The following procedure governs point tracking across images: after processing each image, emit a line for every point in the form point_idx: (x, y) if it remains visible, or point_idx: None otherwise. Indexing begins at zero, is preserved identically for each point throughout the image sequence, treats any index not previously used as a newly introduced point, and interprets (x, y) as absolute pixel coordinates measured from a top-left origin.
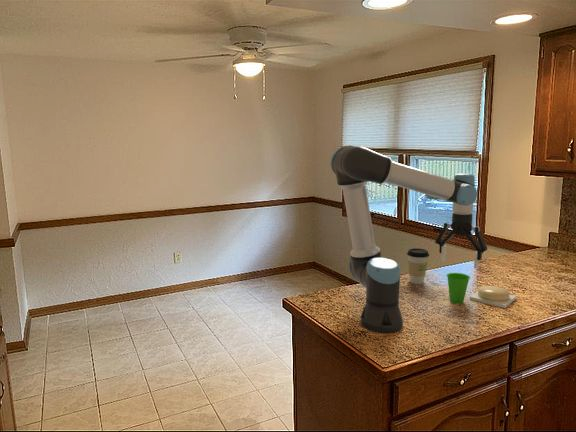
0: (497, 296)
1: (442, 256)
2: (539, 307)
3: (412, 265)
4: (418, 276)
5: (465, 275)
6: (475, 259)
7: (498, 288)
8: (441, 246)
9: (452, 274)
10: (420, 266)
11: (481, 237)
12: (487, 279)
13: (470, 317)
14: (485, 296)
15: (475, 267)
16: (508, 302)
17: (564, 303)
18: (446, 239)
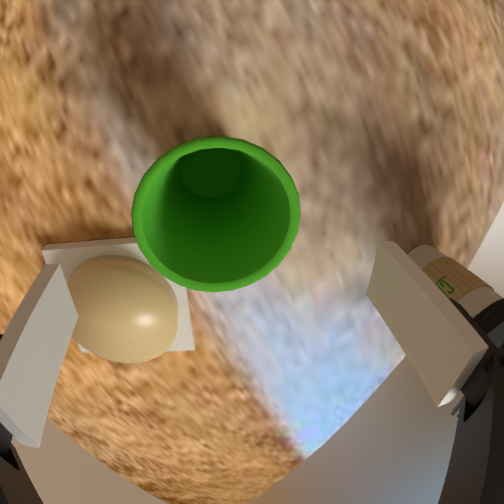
0: (72, 279)
1: (410, 271)
2: None
3: (474, 278)
4: (427, 264)
5: (193, 279)
6: (18, 324)
7: (121, 350)
8: (482, 354)
9: (274, 249)
10: (448, 292)
11: None
12: (232, 414)
13: (81, 41)
14: (115, 263)
15: (45, 268)
16: None
17: None
18: (500, 457)
